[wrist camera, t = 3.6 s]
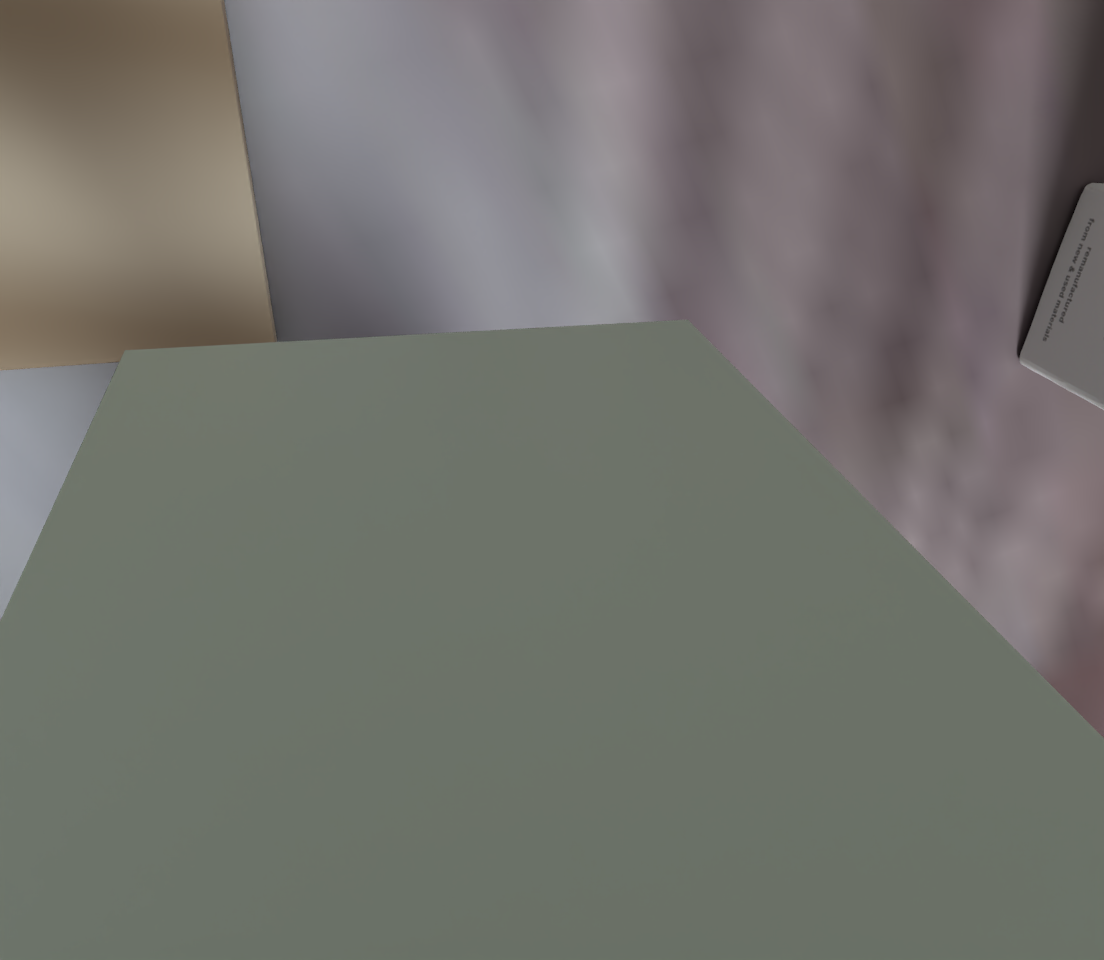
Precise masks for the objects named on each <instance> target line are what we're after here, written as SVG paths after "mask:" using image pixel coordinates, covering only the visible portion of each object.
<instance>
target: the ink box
mask: <svg viewBox="0 0 1104 960" xmlns="http://www.w3.org/2000/svg"><path fill="white" fill-rule="evenodd" d="M1019 361H1020V363H1021V364H1022V365H1024V366H1026V367H1027V368H1029V369H1030V370H1032V371H1034V372H1036V373H1038V374H1040V375H1042V376H1044V377H1046V378H1047V379H1049V380H1051V381H1053V382H1054V383H1056V384H1058V385H1060V386H1061V387H1063V388H1065V389H1067V390H1069V391H1070V392H1072V393H1074V394H1076V395H1078V396H1080V397H1081V398H1083V399H1085V400H1087V401H1089V402H1091V403H1092V404H1094V405H1096V406H1098V407H1100V408H1101V409H1103V410H1104V183H1090V184H1088V185H1087V186H1085V188H1084V190H1083V192H1082V194H1081V196H1080V199H1079V201H1078V204H1077V206H1076V209H1075V211H1074V214H1073V216H1072V219H1071V221H1070V224H1069V226H1068V228H1067V231H1066V233H1065V236H1064V238H1063V241H1062V243H1061V246H1060V249H1059V251H1058V254H1057V257H1056V259H1055V262H1054V264H1053V266H1052V269H1051V272H1050V275H1049V278H1048V280H1047V283H1046V286H1045V288H1044V291H1043V294H1042V297H1041V299H1040V302H1039V305H1038V308H1037V310H1036V313H1035V316H1034V319H1033V322H1032V325H1031V327H1030V330H1029V332H1028V335H1027V338H1026V341H1025V343H1024V346H1023V348H1022V351H1021V353H1020V359H1019Z"/></svg>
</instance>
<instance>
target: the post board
mask: <svg viewBox="0 0 1104 960" xmlns="http://www.w3.org/2000/svg"><path fill="white" fill-rule="evenodd" d="M268 342H277V337H276V331H275V324H274V318H273V311H272V305H271V299H270V292H269V286H268V279H267V273H266V266H265V260H264V254H263V247H262V241H261V234H260V228H259V222H258V215H257V209H256V202H255V196H254V190H253V183H252V177H251V170H250V164H249V157H248V151H247V145H246V138H245V132H244V125H243V119H242V113H241V106H240V100H239V93H238V87H237V80H236V74H235V68H234V61H233V55H232V48H231V42H230V36H229V29H228V23H227V16H226V10H225V3H224V0H0V370H12V369H26V368H40V367H54V366H68V365H82V364H96V363H110V362H120V360H121V357H122V355H123V353H124V351H125V350H139V349H157V348H176V347H194V346H213V345H231V344H250V343H268Z"/></svg>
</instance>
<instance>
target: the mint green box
mask: <svg viewBox="0 0 1104 960" xmlns="http://www.w3.org/2000/svg"><path fill="white" fill-rule="evenodd" d="M0 960H1104V738H1103V737H1102V736H1101V735H1100V734H1099V733H1098V732H1097V731H1096V730H1095V729H1094V728H1093V727H1092V726H1091V725H1090V724H1089V723H1088V722H1087V721H1086V720H1085V719H1084V718H1083V717H1082V716H1081V715H1080V714H1079V713H1078V712H1077V711H1076V710H1075V709H1074V708H1073V707H1072V706H1071V705H1070V704H1069V703H1068V702H1067V701H1066V700H1065V699H1064V698H1063V697H1062V696H1061V695H1060V694H1059V693H1058V692H1057V691H1056V690H1055V689H1054V688H1053V687H1052V686H1051V685H1050V684H1049V683H1048V682H1047V681H1046V680H1045V679H1044V678H1043V677H1042V676H1041V675H1040V674H1039V673H1038V672H1037V671H1036V670H1035V669H1034V668H1033V667H1032V666H1031V665H1030V664H1029V663H1028V662H1027V661H1026V660H1025V659H1024V658H1023V657H1022V656H1021V655H1020V654H1019V653H1018V652H1017V651H1016V650H1015V649H1014V648H1013V647H1012V646H1011V645H1010V644H1009V643H1008V642H1007V641H1006V640H1005V639H1004V638H1003V637H1002V636H1001V635H1000V634H999V633H998V632H997V630H996V629H995V628H994V627H993V626H992V625H991V624H990V623H989V622H988V621H987V620H986V619H985V618H984V617H983V616H982V615H981V614H980V613H979V612H978V611H977V610H976V609H975V608H974V607H973V606H972V605H971V604H970V603H969V602H968V601H967V600H966V599H965V598H964V597H963V596H962V595H961V594H960V593H959V592H958V591H957V590H956V589H955V588H954V587H953V586H952V585H951V584H950V583H949V582H948V581H947V580H946V579H945V578H944V577H943V576H942V575H941V574H940V573H939V572H938V571H937V570H936V569H935V568H934V567H933V566H932V565H931V564H930V563H929V562H928V561H927V560H926V559H925V558H924V557H923V556H922V555H921V554H920V553H919V552H918V551H917V550H916V549H915V548H914V547H913V546H912V545H911V544H910V543H909V542H908V541H907V540H906V539H905V538H904V537H903V536H902V535H901V534H900V533H899V532H898V531H897V530H896V529H895V528H894V527H893V526H892V525H891V524H890V523H889V522H888V521H887V520H886V519H885V518H884V517H883V516H882V515H881V514H880V513H879V512H878V511H877V510H876V509H875V508H874V507H873V506H872V505H871V504H870V503H869V502H868V501H867V500H866V499H865V498H864V497H863V496H862V495H861V494H860V493H859V492H858V491H857V490H856V489H855V488H854V487H853V486H852V485H851V484H850V483H849V482H848V481H847V480H846V479H845V478H844V477H843V476H842V475H841V474H840V473H839V472H838V471H837V470H836V469H835V468H834V467H833V466H832V465H831V464H830V463H829V462H828V460H827V459H826V458H825V457H824V456H823V455H822V454H821V453H820V452H819V451H818V450H817V449H816V448H815V447H814V446H813V445H812V444H811V443H810V442H809V441H808V440H807V439H806V438H805V437H804V436H803V435H802V434H801V433H800V432H799V431H798V430H797V429H796V428H795V427H794V426H793V425H792V424H791V423H790V422H789V421H788V420H787V419H786V418H785V417H784V416H783V415H782V414H781V413H780V412H779V411H778V410H777V409H776V408H775V407H774V406H773V405H772V404H771V403H770V402H769V401H768V400H767V399H766V398H765V397H764V396H763V395H762V394H761V393H760V392H759V391H758V390H757V389H756V388H755V387H754V386H753V385H752V384H751V383H750V382H749V381H748V380H747V379H746V378H745V377H744V376H743V375H742V374H741V373H740V372H739V371H738V370H737V369H736V368H735V367H734V366H733V365H732V364H731V363H730V362H729V361H728V360H727V359H726V358H725V357H724V356H723V355H722V354H721V353H720V352H719V351H718V350H717V349H716V348H715V347H714V346H713V345H712V344H711V343H710V342H709V341H708V340H707V339H706V338H705V337H704V336H703V335H702V334H701V333H700V332H699V331H698V330H697V329H696V328H695V327H694V326H693V325H692V324H691V323H690V322H689V321H688V320H675V321H656V322H638V323H619V324H601V325H582V326H564V327H545V328H527V329H508V330H490V331H471V332H453V333H434V334H416V335H398V336H379V337H361V338H342V339H324V340H305V341H287V342H268V343H250V344H231V345H213V346H194V347H176V348H157V349H139V350H125V351H124V353H123V355H122V357H121V360H120V362H119V364H118V366H117V368H116V371H115V373H114V375H113V377H112V379H111V381H110V384H109V386H108V388H107V390H106V392H105V394H104V397H103V399H102V401H101V403H100V405H99V407H98V410H97V412H96V414H95V416H94V418H93V421H92V423H91V425H90V427H89V429H88V431H87V434H86V436H85V438H84V440H83V442H82V444H81V447H80V449H79V451H78V453H77V455H76V458H75V460H74V462H73V464H72V466H71V468H70V471H69V473H68V475H67V477H66V479H65V481H64V484H63V486H62V488H61V490H60V492H59V495H58V497H57V499H56V501H55V503H54V505H53V508H52V510H51V512H50V514H49V516H48V518H47V521H46V523H45V525H44V527H43V529H42V531H41V534H40V536H39V538H38V540H37V542H36V545H35V547H34V549H33V551H32V553H31V555H30V558H29V560H28V562H27V564H26V566H25V568H24V571H23V573H22V575H21V577H20V579H19V582H18V584H17V586H16V588H15V590H14V592H13V595H12V597H11V599H10V601H9V603H8V605H7V608H6V610H5V612H4V614H3V616H2V619H1V621H0Z"/></svg>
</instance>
